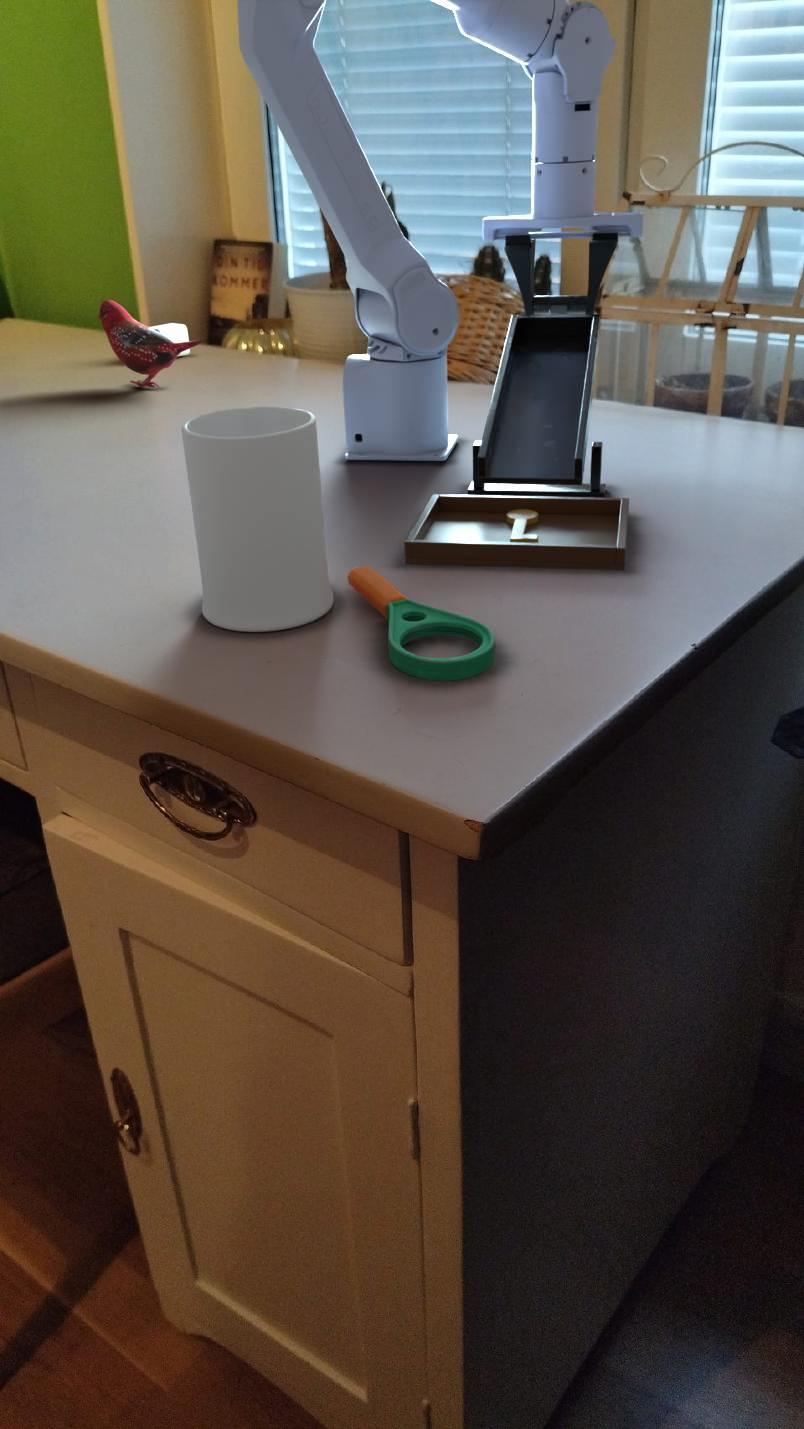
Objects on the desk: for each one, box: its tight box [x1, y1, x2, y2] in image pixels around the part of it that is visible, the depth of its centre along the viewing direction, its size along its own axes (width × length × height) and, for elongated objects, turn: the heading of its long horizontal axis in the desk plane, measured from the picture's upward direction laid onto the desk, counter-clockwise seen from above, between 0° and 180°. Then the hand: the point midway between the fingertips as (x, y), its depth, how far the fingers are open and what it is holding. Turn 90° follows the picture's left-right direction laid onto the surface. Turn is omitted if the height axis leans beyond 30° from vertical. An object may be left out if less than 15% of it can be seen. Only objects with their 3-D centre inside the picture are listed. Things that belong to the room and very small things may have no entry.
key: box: [507, 509, 538, 543], centre depth 82 cm, size 3×7×1 cm, turn 170°
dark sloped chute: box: [478, 294, 601, 485], centre depth 95 cm, size 8×30×2 cm, turn 169°
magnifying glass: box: [347, 565, 496, 682], centre depth 67 cm, size 15×6×2 cm, turn 25°
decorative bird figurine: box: [97, 299, 203, 388], centre depth 132 cm, size 3×18×10 cm, turn 54°
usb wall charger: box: [149, 322, 191, 358], centre depth 151 cm, size 4×7×4 cm, turn 136°
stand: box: [467, 440, 607, 498], centre depth 90 cm, size 11×2×4 cm, turn 79°
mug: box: [181, 406, 335, 633], centre depth 70 cm, size 12×8×12 cm
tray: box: [404, 493, 630, 571], centre depth 81 cm, size 15×11×2 cm
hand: (560, 320), depth 105 cm, fingers closed on dark sloped chute, 5 cm apart
